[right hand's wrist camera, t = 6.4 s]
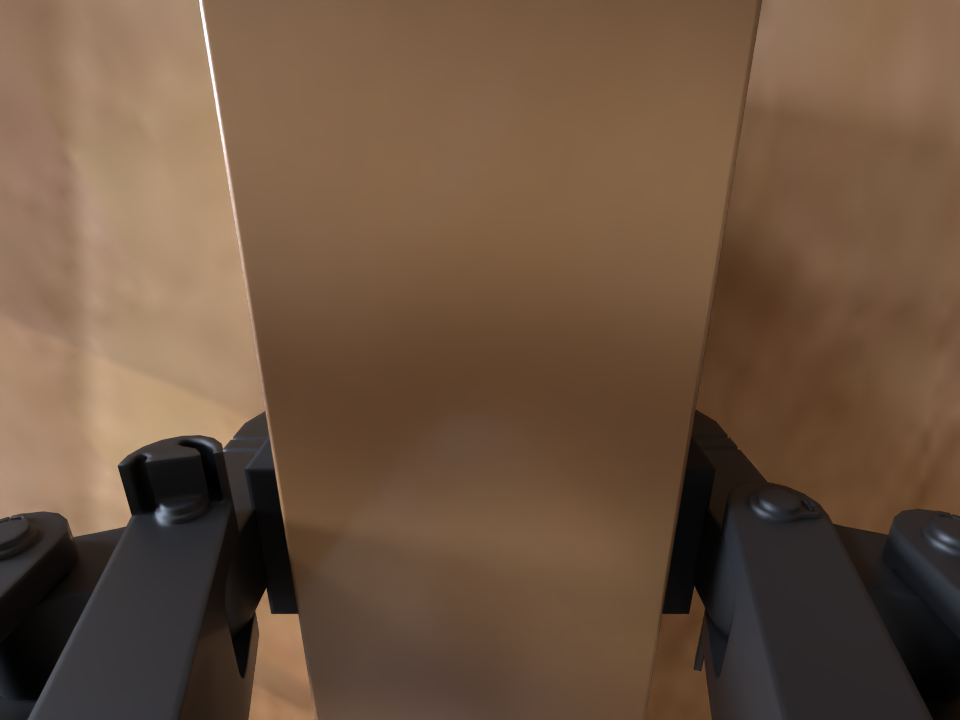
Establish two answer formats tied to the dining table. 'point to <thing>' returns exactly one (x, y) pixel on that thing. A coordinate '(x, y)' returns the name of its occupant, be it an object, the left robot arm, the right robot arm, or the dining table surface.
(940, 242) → the dining table surface
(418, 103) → the post
